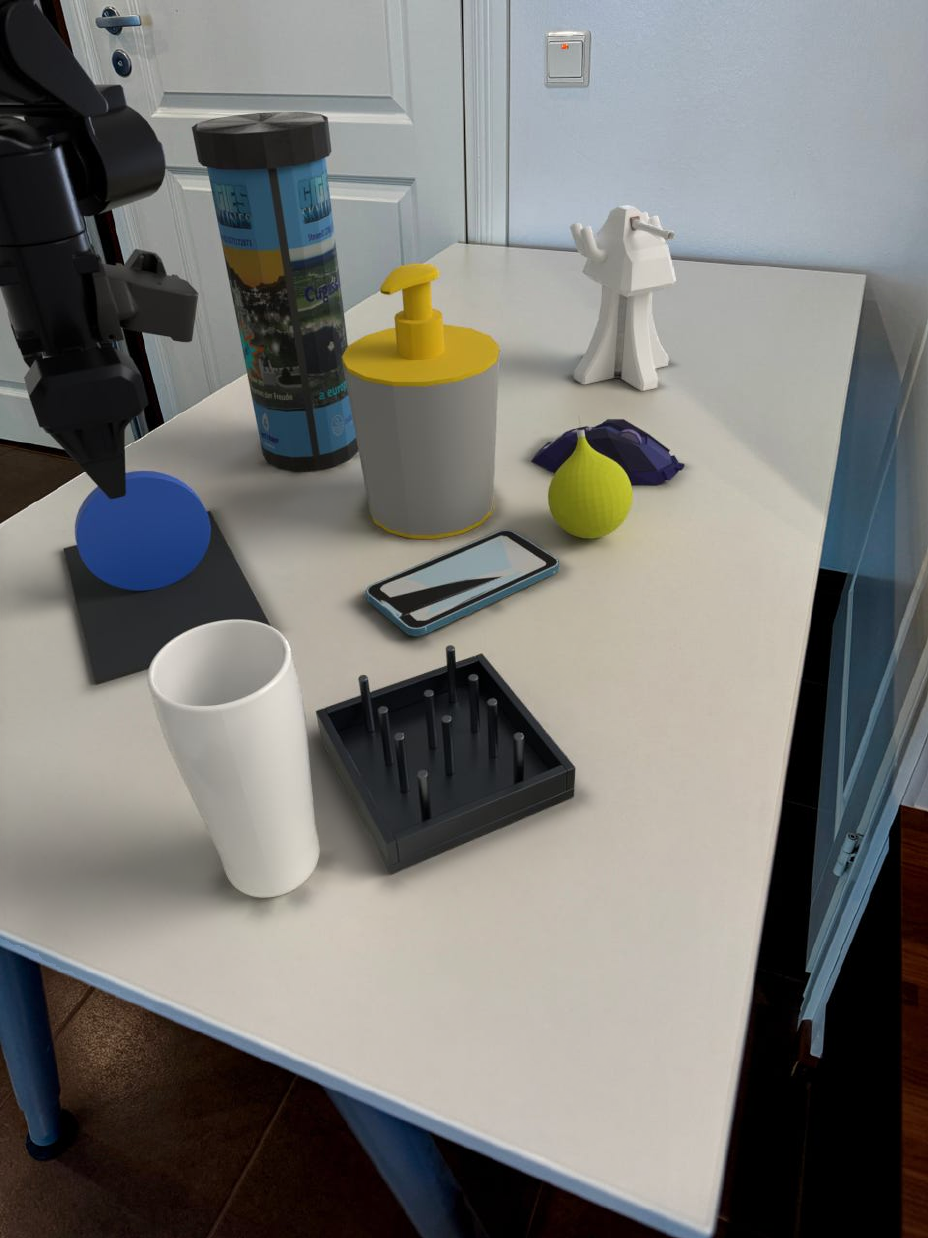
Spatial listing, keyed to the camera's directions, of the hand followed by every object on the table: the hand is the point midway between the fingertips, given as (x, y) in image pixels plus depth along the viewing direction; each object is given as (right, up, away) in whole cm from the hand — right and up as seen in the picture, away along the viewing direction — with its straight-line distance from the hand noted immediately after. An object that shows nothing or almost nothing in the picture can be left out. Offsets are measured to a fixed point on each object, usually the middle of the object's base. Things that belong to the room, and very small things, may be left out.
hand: (107, 469), depth 62 cm
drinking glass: (+14, -25, -12) cm, 31 cm away
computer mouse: (+40, +5, +25) cm, 47 cm away
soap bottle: (+22, 0, +19) cm, 29 cm away
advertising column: (+9, +7, +30) cm, 32 cm away
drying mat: (0, -8, +10) cm, 13 cm away
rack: (+24, -20, -7) cm, 32 cm away
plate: (0, -8, +10) cm, 13 cm away
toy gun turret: (+44, +19, +43) cm, 64 cm away
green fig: (+36, -3, +15) cm, 39 cm away
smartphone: (+25, -8, +9) cm, 28 cm away
